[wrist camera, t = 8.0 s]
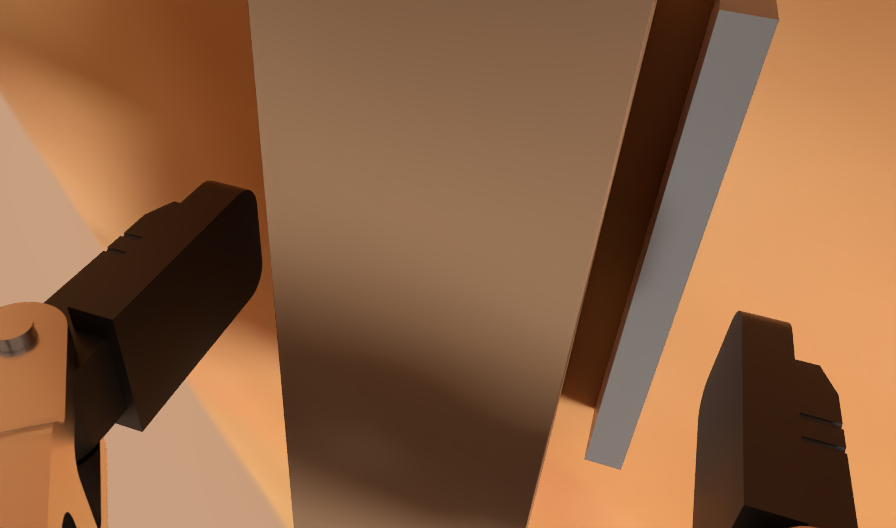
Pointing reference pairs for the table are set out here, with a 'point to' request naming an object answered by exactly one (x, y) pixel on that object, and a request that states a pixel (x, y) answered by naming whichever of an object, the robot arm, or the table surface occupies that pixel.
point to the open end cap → (681, 213)
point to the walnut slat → (433, 239)
